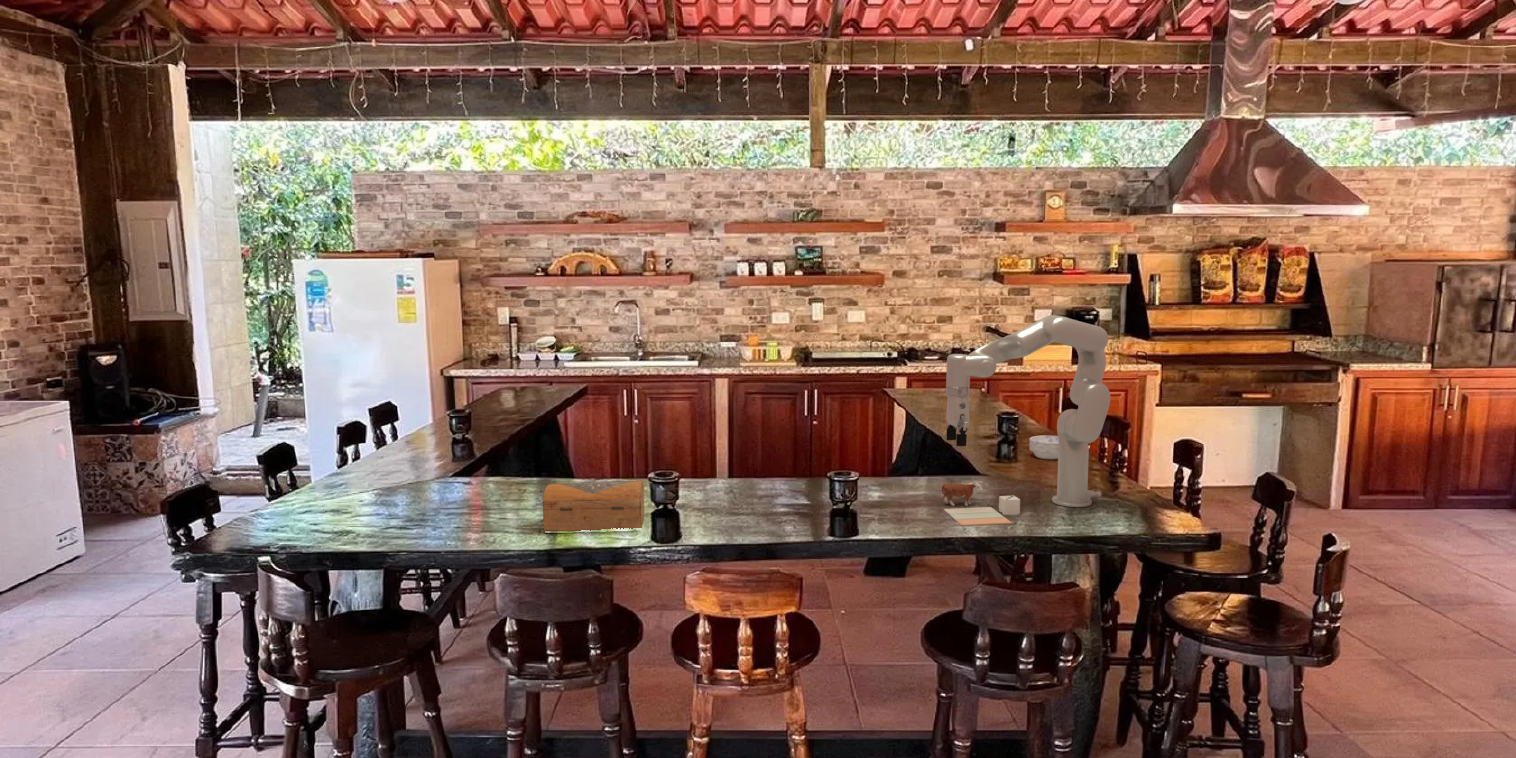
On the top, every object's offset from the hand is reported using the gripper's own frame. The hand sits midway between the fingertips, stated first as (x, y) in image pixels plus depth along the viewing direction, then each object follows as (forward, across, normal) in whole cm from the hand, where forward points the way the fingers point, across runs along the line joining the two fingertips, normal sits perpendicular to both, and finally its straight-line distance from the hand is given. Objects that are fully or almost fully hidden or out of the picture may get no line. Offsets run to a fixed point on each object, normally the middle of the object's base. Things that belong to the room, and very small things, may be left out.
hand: (956, 442), depth 290 cm
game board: (+21, -13, -3) cm, 25 cm away
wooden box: (+24, -3, +118) cm, 120 cm away
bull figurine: (+22, +1, -3) cm, 22 cm away
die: (+21, -10, -15) cm, 28 cm away
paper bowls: (+21, +64, -62) cm, 92 cm away
